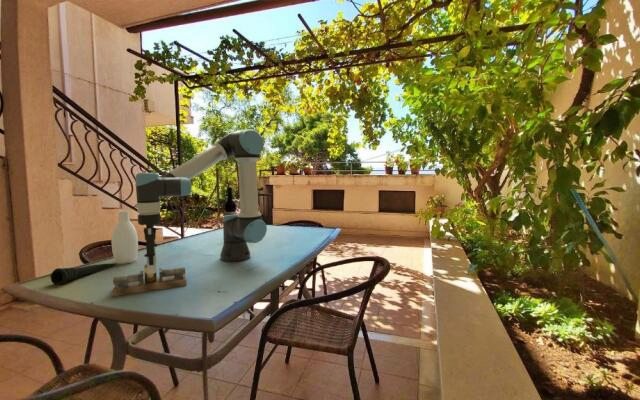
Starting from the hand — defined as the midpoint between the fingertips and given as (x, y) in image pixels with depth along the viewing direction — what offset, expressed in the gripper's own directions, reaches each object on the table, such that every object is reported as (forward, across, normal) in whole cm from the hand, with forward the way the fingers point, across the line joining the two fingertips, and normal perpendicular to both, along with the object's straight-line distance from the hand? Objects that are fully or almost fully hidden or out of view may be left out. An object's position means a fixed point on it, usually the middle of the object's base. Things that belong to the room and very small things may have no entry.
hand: (152, 268), depth 115 cm
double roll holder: (+7, 0, 0) cm, 7 cm away
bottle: (+7, -45, -12) cm, 47 cm away
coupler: (+5, 0, -1) cm, 5 cm away
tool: (+7, -30, -26) cm, 40 cm away
